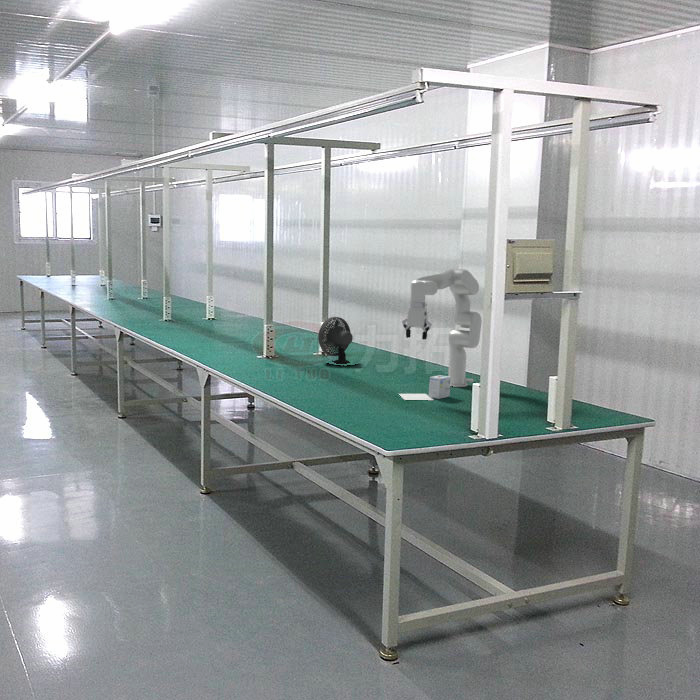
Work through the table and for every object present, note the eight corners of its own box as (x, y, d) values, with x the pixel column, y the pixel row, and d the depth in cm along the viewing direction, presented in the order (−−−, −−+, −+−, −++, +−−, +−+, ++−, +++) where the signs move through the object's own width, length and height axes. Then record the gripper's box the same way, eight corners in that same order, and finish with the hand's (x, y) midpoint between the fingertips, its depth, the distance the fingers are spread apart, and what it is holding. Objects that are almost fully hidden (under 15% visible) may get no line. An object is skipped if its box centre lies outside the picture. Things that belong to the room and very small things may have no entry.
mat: (425, 394, 402) (425, 393, 402) (433, 400, 387) (433, 399, 387) (397, 394, 400) (397, 393, 400) (405, 400, 384) (405, 400, 384)
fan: (354, 360, 512) (355, 315, 508) (360, 366, 486) (361, 319, 482) (315, 359, 509) (316, 315, 504) (319, 366, 483) (320, 319, 479)
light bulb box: (439, 394, 402) (440, 374, 400) (449, 396, 397) (451, 376, 396) (427, 397, 393) (429, 376, 392) (438, 399, 389) (440, 378, 388)
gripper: (436, 306, 388) (434, 339, 391) (407, 303, 398) (405, 336, 401) (428, 306, 382) (427, 340, 385) (399, 304, 392) (398, 337, 395)
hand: (416, 338), depth 393 cm, fingers open, 9 cm apart
